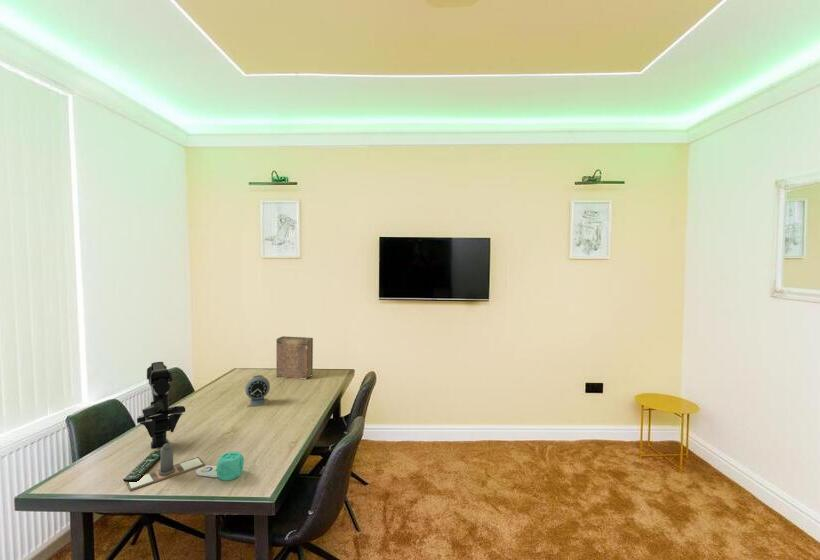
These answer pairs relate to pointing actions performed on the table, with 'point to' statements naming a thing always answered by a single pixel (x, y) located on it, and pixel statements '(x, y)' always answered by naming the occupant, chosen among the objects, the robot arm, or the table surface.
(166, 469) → the pawn
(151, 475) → the game board
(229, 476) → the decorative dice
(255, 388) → the alarm clock
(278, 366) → the book
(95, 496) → the table surface
